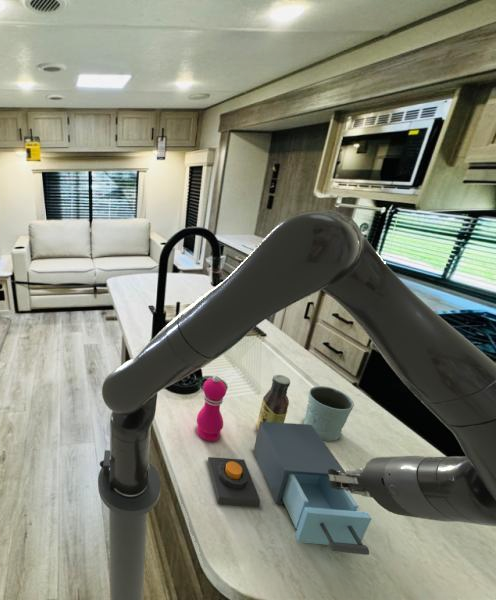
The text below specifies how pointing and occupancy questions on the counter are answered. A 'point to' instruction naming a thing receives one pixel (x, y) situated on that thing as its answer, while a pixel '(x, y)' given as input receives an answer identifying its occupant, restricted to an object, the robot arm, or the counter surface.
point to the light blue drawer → (325, 514)
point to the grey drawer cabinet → (291, 454)
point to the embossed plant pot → (328, 411)
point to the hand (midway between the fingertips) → (333, 482)
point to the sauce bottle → (275, 401)
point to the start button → (233, 470)
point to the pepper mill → (211, 410)
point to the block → (232, 484)
